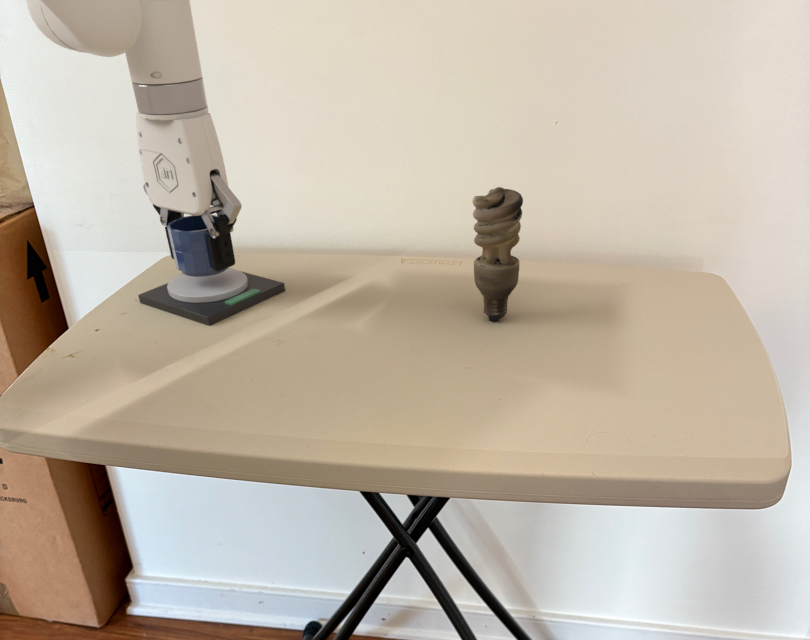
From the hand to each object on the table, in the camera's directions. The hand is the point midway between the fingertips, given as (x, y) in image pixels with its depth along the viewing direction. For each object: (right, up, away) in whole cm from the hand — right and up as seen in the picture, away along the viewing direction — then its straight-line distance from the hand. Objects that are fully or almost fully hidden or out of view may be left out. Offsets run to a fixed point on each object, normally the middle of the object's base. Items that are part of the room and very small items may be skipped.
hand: (203, 260), depth 94 cm
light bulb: (+36, -8, -2) cm, 37 cm away
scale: (+1, -5, +3) cm, 6 cm away
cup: (0, -1, +1) cm, 1 cm away
